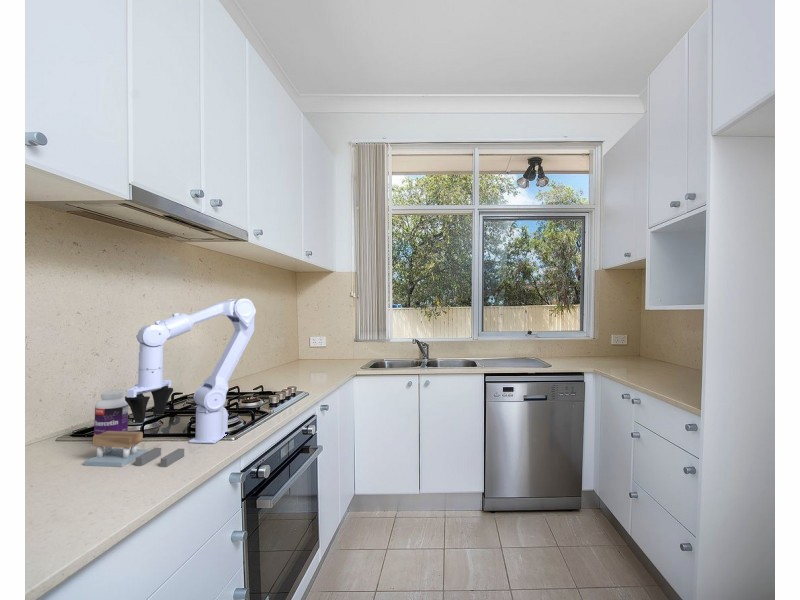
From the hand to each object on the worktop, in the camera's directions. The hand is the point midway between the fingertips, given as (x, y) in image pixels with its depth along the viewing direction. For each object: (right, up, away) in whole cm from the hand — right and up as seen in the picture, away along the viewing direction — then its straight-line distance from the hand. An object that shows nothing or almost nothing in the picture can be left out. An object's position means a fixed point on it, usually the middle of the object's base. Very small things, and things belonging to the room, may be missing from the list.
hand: (149, 418), depth 105 cm
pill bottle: (-17, -10, +9) cm, 22 cm away
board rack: (+7, -9, -6) cm, 13 cm away
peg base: (-5, -9, -5) cm, 12 cm away
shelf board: (-5, -5, -5) cm, 9 cm away
